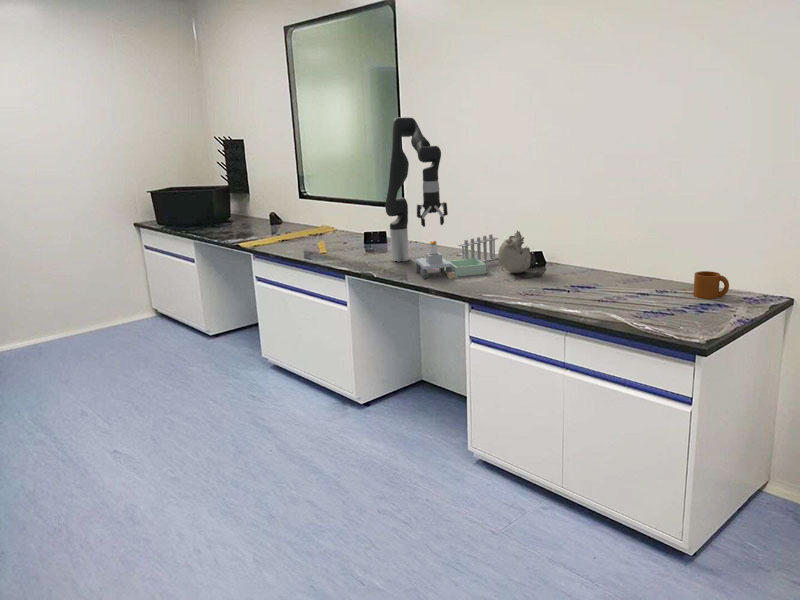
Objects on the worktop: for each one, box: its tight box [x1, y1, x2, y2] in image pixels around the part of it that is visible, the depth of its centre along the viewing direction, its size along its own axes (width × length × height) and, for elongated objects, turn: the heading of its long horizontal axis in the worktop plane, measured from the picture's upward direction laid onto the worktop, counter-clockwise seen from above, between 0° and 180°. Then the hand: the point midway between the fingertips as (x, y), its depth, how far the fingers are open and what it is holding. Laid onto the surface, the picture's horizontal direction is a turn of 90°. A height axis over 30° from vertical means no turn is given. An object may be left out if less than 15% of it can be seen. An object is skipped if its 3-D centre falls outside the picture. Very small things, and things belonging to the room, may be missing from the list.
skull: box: [497, 230, 531, 274], centre depth 291 cm, size 13×15×20 cm
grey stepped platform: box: [414, 251, 456, 280], centre depth 298 cm, size 20×14×10 cm
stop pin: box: [430, 240, 438, 255], centre depth 294 cm, size 3×3×10 cm
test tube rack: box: [457, 233, 500, 264], centre depth 317 cm, size 25×4×13 cm, turn 128°
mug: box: [692, 270, 730, 300], centre depth 239 cm, size 9×12×9 cm
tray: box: [447, 257, 487, 278], centre depth 301 cm, size 15×15×4 cm
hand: (432, 225), depth 291 cm, fingers open, 8 cm apart
